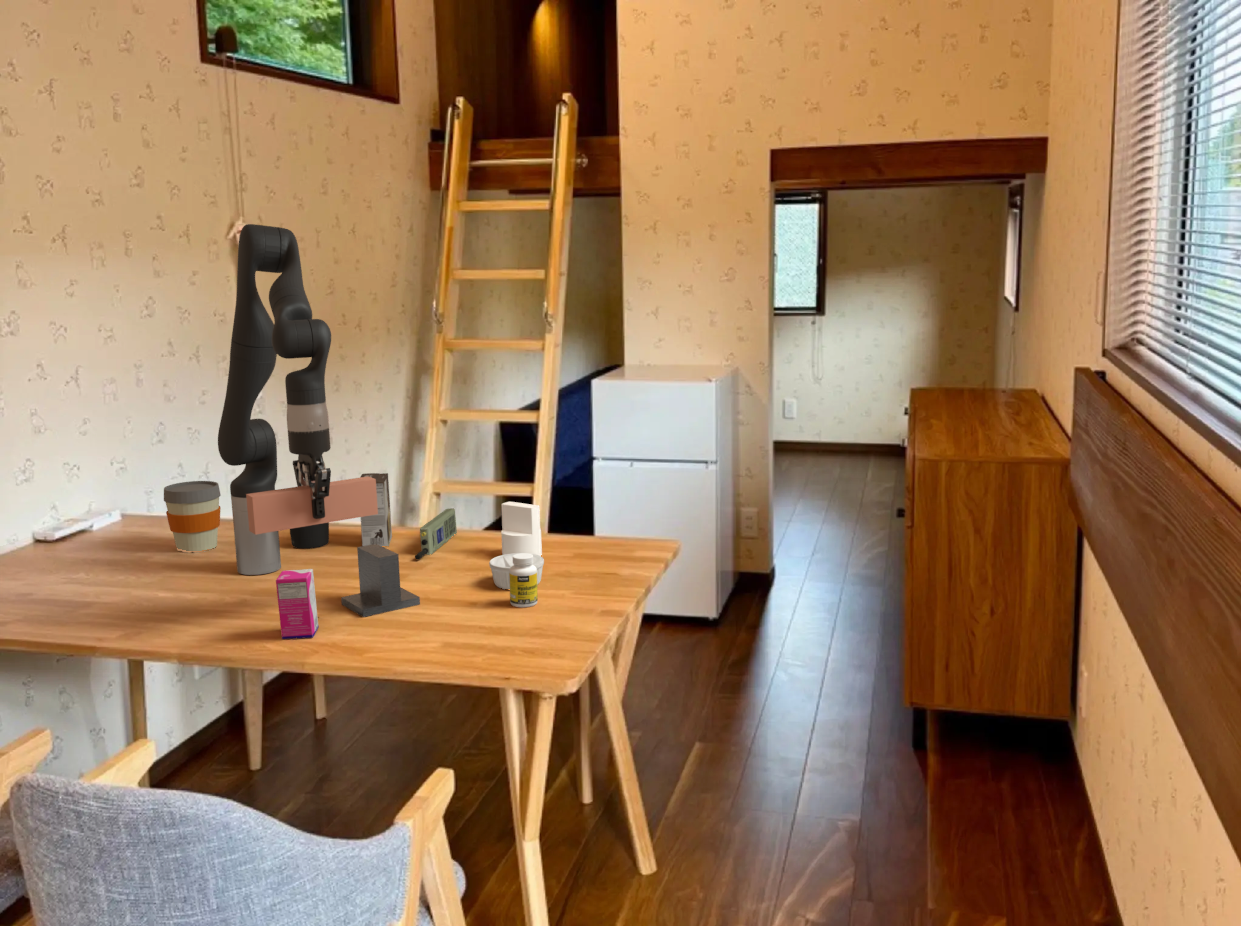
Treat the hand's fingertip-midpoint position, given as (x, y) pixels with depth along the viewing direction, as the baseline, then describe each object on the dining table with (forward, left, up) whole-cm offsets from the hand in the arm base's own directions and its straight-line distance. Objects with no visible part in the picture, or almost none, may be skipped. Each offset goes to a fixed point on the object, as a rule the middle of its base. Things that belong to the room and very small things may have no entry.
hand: (314, 515), depth 209 cm
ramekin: (+9, +39, -20) cm, 44 cm away
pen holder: (-50, +18, -20) cm, 57 cm away
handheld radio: (-28, +40, -20) cm, 53 cm away
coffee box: (-41, +31, -20) cm, 55 cm away
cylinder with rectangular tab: (-8, +51, -20) cm, 55 cm away
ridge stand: (+3, +11, -19) cm, 22 cm away
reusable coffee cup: (-65, -4, -19) cm, 68 cm away
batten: (0, 0, -1) cm, 1 cm away
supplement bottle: (+21, +33, -20) cm, 44 cm away
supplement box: (+9, -8, -20) cm, 23 cm away
